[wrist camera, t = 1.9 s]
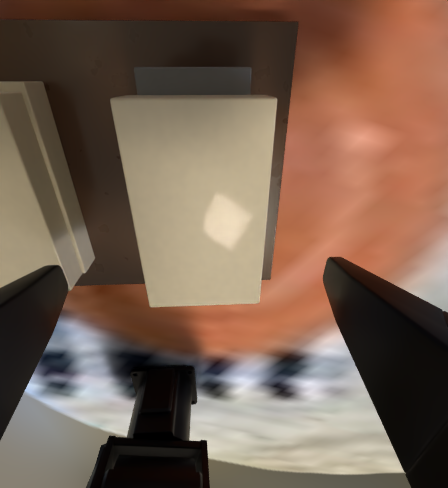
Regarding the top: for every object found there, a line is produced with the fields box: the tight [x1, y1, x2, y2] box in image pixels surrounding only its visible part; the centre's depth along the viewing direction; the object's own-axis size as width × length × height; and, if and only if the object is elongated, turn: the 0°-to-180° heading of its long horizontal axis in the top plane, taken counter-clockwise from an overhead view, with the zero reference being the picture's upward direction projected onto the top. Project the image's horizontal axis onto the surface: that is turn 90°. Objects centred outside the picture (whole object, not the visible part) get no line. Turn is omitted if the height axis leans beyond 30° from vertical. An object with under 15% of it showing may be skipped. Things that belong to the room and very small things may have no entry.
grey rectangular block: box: [134, 67, 252, 95], centre depth 16 cm, size 12×5×4 cm, turn 0°
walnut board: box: [0, 19, 298, 286], centre depth 17 cm, size 16×22×1 cm
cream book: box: [110, 95, 277, 307], centre depth 13 cm, size 10×6×2 cm, turn 0°
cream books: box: [0, 81, 95, 291], centre depth 15 cm, size 11×6×4 cm, turn 0°
